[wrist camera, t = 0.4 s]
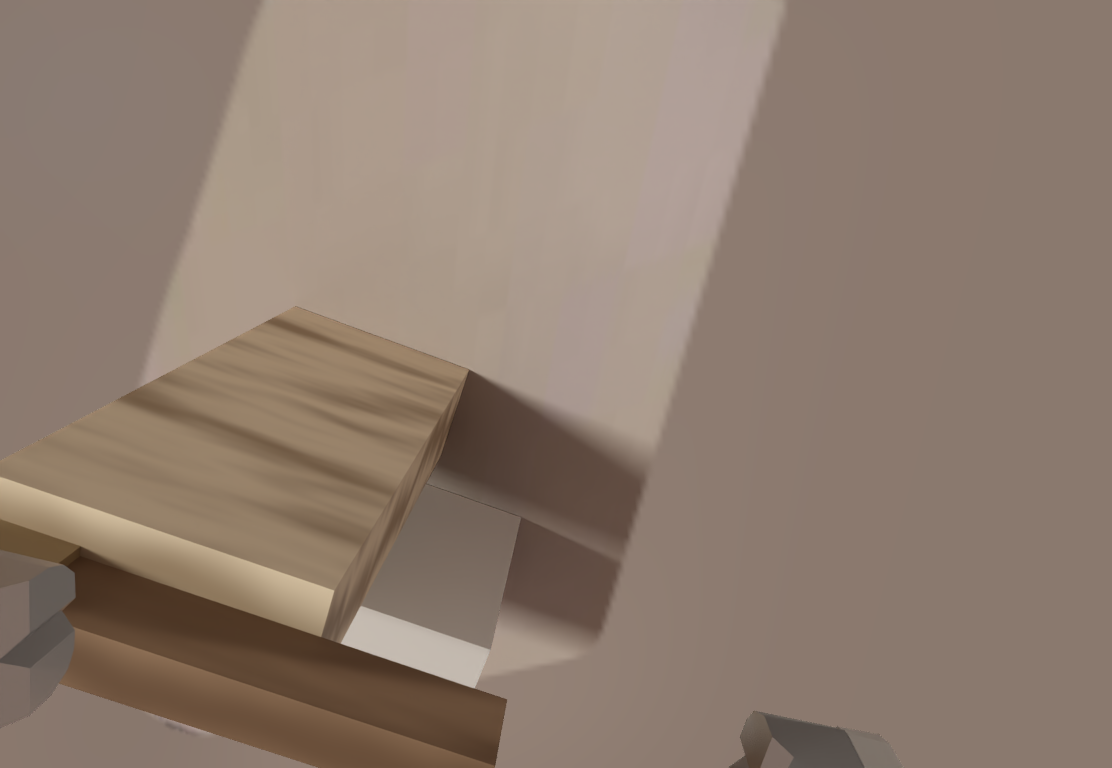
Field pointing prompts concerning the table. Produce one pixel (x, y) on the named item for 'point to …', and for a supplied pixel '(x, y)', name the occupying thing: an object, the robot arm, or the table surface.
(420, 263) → the table surface
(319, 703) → the wooden bar
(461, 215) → the table surface
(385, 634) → the white rectangular box
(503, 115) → the table surface
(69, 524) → the pedestal
